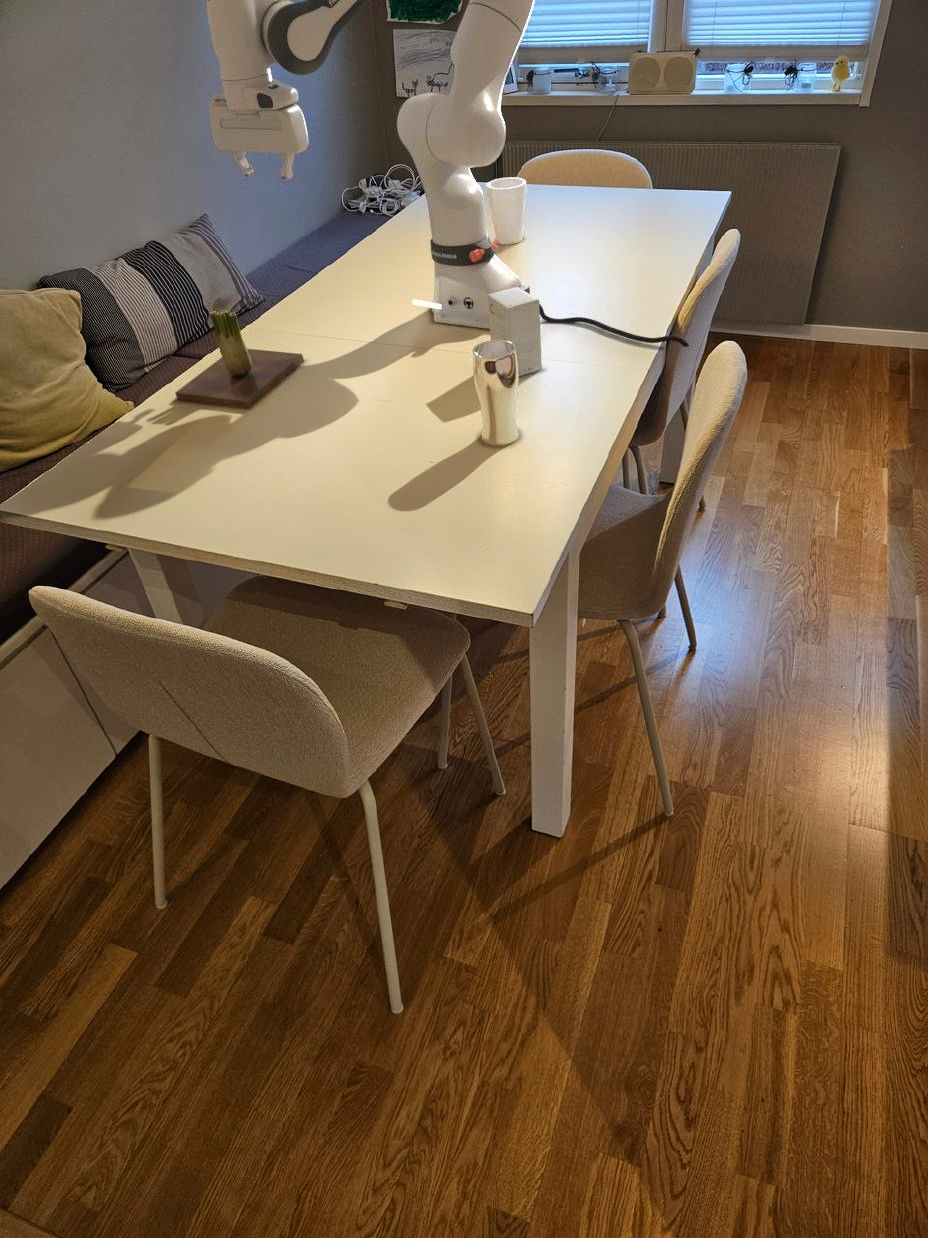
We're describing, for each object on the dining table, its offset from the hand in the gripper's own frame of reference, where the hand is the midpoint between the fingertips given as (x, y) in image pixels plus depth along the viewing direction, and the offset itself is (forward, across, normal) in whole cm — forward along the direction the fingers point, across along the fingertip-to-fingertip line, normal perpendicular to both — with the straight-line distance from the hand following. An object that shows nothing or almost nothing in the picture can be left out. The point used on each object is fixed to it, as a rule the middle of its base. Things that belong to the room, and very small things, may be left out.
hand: (268, 176), depth 165 cm
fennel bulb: (+28, +5, -25) cm, 38 cm away
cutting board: (+29, +5, -25) cm, 39 cm away
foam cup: (+29, +21, +59) cm, 69 cm away
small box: (+29, +53, -4) cm, 61 cm away
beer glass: (+29, +62, -28) cm, 74 cm away
